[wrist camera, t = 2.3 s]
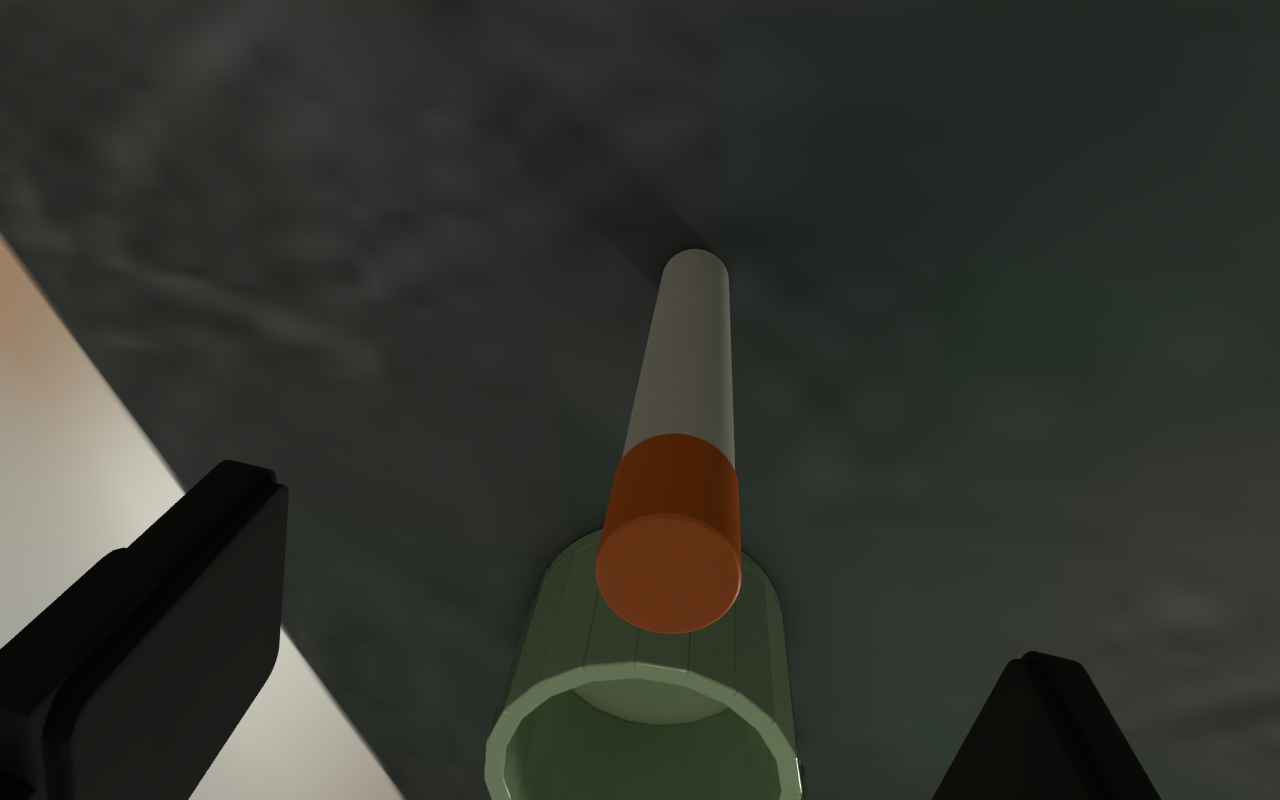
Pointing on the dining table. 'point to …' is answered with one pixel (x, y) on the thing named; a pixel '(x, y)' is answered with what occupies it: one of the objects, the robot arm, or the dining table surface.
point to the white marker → (678, 465)
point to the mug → (644, 700)
